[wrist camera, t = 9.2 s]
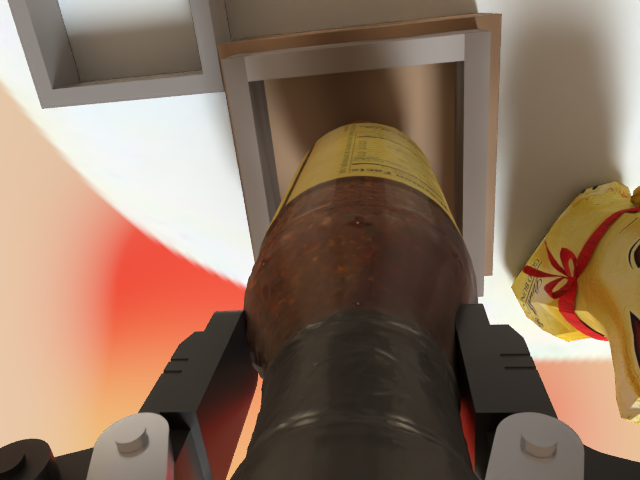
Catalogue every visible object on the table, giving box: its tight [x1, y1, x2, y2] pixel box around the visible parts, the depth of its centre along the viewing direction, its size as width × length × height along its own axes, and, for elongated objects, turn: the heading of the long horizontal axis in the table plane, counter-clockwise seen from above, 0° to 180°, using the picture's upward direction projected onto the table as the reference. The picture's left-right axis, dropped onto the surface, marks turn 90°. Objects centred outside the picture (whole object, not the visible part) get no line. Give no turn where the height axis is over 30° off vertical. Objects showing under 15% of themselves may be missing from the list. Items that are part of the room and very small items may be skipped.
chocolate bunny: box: [511, 181, 640, 425], centre depth 26 cm, size 7×11×15 cm, turn 157°
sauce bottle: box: [230, 120, 479, 480], centre depth 15 cm, size 7×6×20 cm
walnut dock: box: [217, 13, 502, 297], centre depth 27 cm, size 13×13×9 cm
